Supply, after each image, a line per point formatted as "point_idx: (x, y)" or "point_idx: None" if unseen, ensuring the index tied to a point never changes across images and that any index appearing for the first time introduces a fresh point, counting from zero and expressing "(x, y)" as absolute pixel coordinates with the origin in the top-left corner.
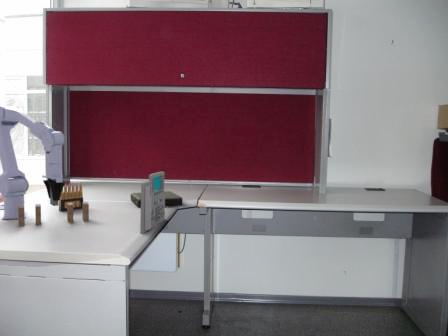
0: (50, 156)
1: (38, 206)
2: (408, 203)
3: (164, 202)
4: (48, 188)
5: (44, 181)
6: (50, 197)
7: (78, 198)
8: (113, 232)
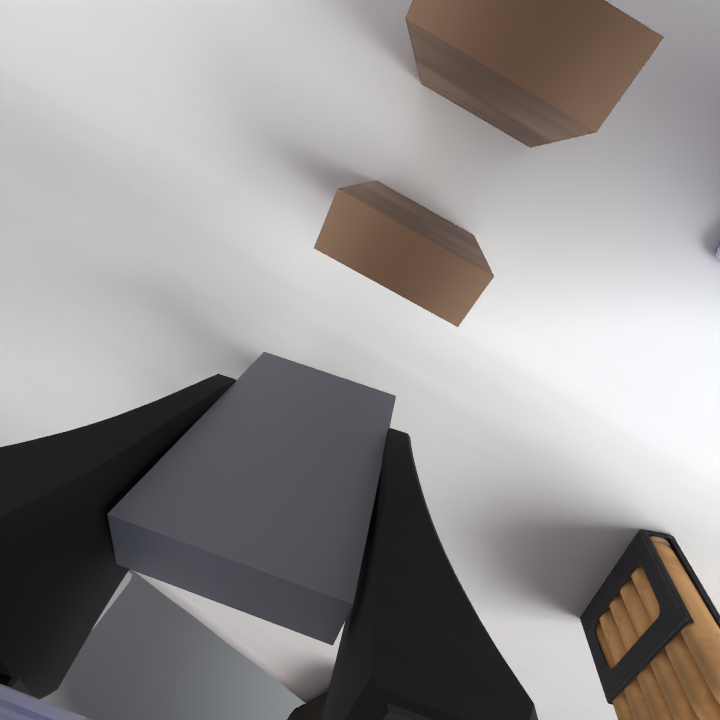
0: None
1: (324, 224)
2: None
3: None
4: (378, 540)
5: (371, 683)
6: (367, 437)
7: (620, 684)
8: (3, 374)
